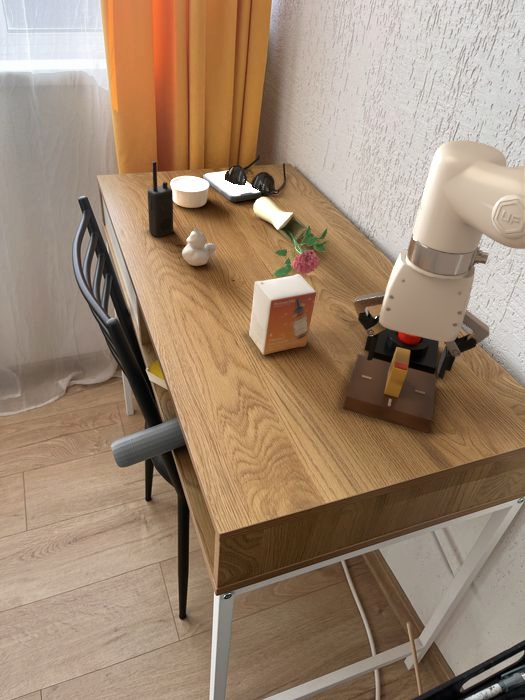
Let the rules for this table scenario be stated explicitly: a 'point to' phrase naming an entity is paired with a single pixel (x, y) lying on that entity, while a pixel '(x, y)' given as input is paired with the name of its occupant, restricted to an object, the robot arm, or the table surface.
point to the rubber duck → (198, 249)
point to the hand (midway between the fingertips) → (405, 363)
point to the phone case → (231, 187)
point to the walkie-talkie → (160, 207)
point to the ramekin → (189, 191)
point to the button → (409, 338)
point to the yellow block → (397, 372)
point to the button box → (420, 354)
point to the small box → (281, 313)
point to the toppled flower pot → (291, 236)
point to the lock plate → (405, 409)
